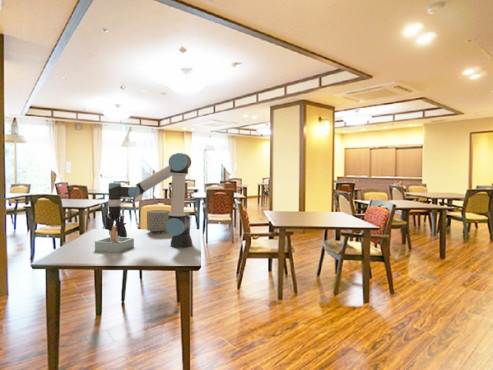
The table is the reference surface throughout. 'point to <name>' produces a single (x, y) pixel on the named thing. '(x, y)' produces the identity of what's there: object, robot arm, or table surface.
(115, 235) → the peg
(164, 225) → the planter
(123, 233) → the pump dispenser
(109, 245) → the box
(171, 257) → the table surface
